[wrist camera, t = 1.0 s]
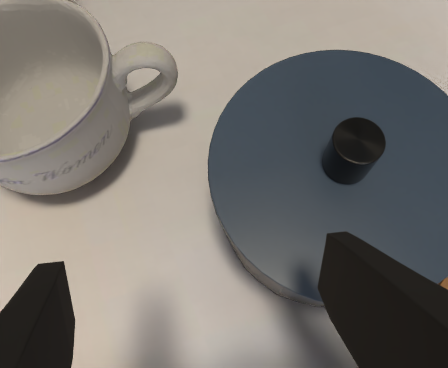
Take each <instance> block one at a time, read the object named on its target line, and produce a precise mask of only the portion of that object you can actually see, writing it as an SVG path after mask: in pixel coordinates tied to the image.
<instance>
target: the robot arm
mask: <svg viewBox="0 0 448 368" xmlns="http://www.w3.org/2000/svg"><path fill="white" fill-rule="evenodd" d="M317 288H318V291H319V293H320V296H321V298H322V301H323V303H324V306H325V308H326V310H327V312H328V315H329V317H330V319H331V321H332V323H333V324H334V326H335V328H336V330H337V331H338V333H339V335H340V337H341V338H342V340H343V342H344V343H345V345H346V347H347V348H348V350H349V352H350V353H351V355H352V357H353V359H354V360H355V362H356V364H357V365H358V367H359V368H448V289H446V288H444V287H442V286H440V285H439V284H437V283H435V282H433V281H431V280H429V279H427V278H426V277H424V276H422V275H420V274H419V273H417V272H415V271H413V270H412V269H410V268H408V267H407V266H405V265H403V264H401V263H400V262H398V261H396V260H395V259H393V258H391V257H390V256H388V255H387V254H385V253H383V252H382V251H380V250H378V249H377V248H375V247H373V246H372V245H370V244H368V243H367V242H365V241H363V240H362V239H360V238H358V237H356V236H355V235H353V234H351V233H349V232H347V231H344V232H335V233H327V236H326V242H325V247H324V253H323V259H322V264H321V270H320V276H319V281H318V287H317ZM74 331H75V317H74V312H73V307H72V302H71V296H70V291H69V286H68V281H67V276H66V270H65V265H64V261H62V262H52V263H43V264H38V265H37V266H36V267H35V268H34V269H33V270H32V272H31V273H30V274H29V276H28V277H27V278H26V280H25V281H24V283H23V284H22V285H21V287H20V288H19V289H18V291H17V292H16V293H15V294H14V296H13V297H12V298H11V300H10V301H9V302H8V304H7V305H6V306H5V307H4V309H3V310H2V311H1V312H0V368H71V365H72V359H73V347H74Z"/></svg>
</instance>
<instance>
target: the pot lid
mask: <svg viewBox="0 0 448 368" xmlns="http://www.w3.org/2000/svg"><path fill="white" fill-rule="evenodd" d="M208 180H209V186H210V192H211V198H212V201H213V204H214V207H215V211H216V214H217V216H218V218H219V220H220V223H221V225H222V227H223V229H224V231H225V233H226V234H227V236H228V237H229V239H230V240H231V242H232V243H233V245H234V246H235V248H236V249H237V250H238V251H239V252H240V253H241V255H242V256H243V257H244V258H245V259H246V261H248V262H249V263H250V264H251V265H252V266H253V267H254V268H255V269H256V270H257V271H259V272H260V273H261V274H262V275H264V276H265V277H267V278H268V279H269V280H271V281H272V282H274V283H275V284H276V285H278V286H280V287H282V288H284V289H286V290H288V291H290V292H292V293H294V294H296V295H299V296H301V297H304V298H307V299H309V300H312V301H316V302H320V303H323V301H322V298H321V296H320V293H319V291H318V288H317V287H318V281H319V276H320V270H321V264H322V259H323V253H324V247H325V242H326V236H327V233H335V232H344V231H347V232H349V233H351V234H353V235H355V236H356V237H358V238H360V239H362V240H363V241H365V242H367V243H368V244H370V245H372V246H373V247H375V248H377V249H378V250H380V251H382V252H383V253H385V254H387V255H388V256H390V257H391V258H393V259H395V260H396V261H398V262H400V263H401V264H403V265H405V266H407V267H408V268H410V269H412V270H413V271H415V272H417V273H419V274H420V275H422V276H424V277H426V278H427V279H429V280H431V281H433V282H435V283H437V284H438V283H440V282H441V281H442V280H444V279H445V278H447V277H448V96H447V94H446V93H445V92H444V91H442V90H441V89H440V88H439V87H437V86H436V85H435V84H434V83H433V82H431V81H430V80H429V79H427V78H425V77H424V76H422V75H421V74H419V73H418V72H416V71H414V70H412V69H410V68H408V67H406V66H405V65H403V64H400V63H398V62H395V61H393V60H390V59H387V58H385V57H381V56H377V55H373V54H370V53H364V52H358V51H348V50H325V51H316V52H310V53H304V54H300V55H297V56H293V57H290V58H287V59H285V60H282V61H280V62H277V63H275V64H273V65H271V66H270V67H268V68H266V69H264V70H262V71H261V72H259V73H258V74H257V75H255V76H254V77H253V78H251V79H250V80H249V81H248V82H247V83H245V84H244V85H243V86H242V87H241V88H240V89H239V90H238V91H237V92H236V94H235V95H234V96H233V97H232V99H231V100H230V101H229V102H228V104H227V105H226V107H225V109H224V110H223V112H222V114H221V115H220V117H219V120H218V122H217V124H216V127H215V129H214V132H213V136H212V139H211V143H210V148H209V157H208Z"/></svg>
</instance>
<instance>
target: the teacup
mask: <svg viewBox="0 0 448 368" xmlns="http://www.w3.org/2000/svg"><path fill="white" fill-rule="evenodd" d="M141 68H152V69H156V70H158V71H160V72H161V73H160V74H159V75H158V76H157V77H156V78H155V79H154V80H153V81H151V82H150V83H148V84H147V85H145V86H143V87H141V88H140V89H137V90H135V91H133V92H128V91H127V89H126V83H127V75H128V74H129V73H130V72H132V71H133V70H136V69H141ZM177 77H178V71H177V66H176V62H175V60H174V58H173V56H172V55H171V53H170V52H169V51H168V50H166V49H165V48H164V47H162V46H160V45H157V44H154V43H149V42H139V43H134V44H131V45H128V46H126V47H124V48H123V49H121V50H120V51H118V52H117V53H116V54H115V55H112V54H111V52H110V48H109V45H108V41H107V39H106V36H105V34H104V32H103V30H102V28H101V26H100V24H99V23H98V22H97V20H96V19H95V18H94V17H93V16H92V15H91V14H90V13H89V12H88V11H87V10H85V9H84V8H82V7H81V6H79V5H77V4H75V3H73V2H71V1H68V0H0V186H2V187H5V188H7V189H10V190H13V191H16V192H20V193H25V194H31V195H51V194H59V193H63V192H67V191H71V190H73V189H76V188H79V187H81V186H83V185H85V184H86V183H88V182H90V181H92V180H93V179H95V178H96V177H98V176H99V175H100V174H101V173H103V172H104V171H105V170H106V169H107V168H108V167H109V166H110V165H111V164H112V163H113V161H114V160H115V159H116V157H117V156H118V155H119V153H120V151H121V150H122V148H123V146H124V144H125V141H126V139H127V136H128V132H129V128H130V121H131V120H132V119H133V118H135V117H137V116H139V115H140V113H141V112H142V110H144V109H146V108H148V107H150V106H152V105H154V104H155V103H157V102H159V101H161V100H162V99H163V98H165V97H166V96H167V95H168V94H170V93H171V91H172V90H173V89H174V87H175V85H176V82H177Z"/></svg>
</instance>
